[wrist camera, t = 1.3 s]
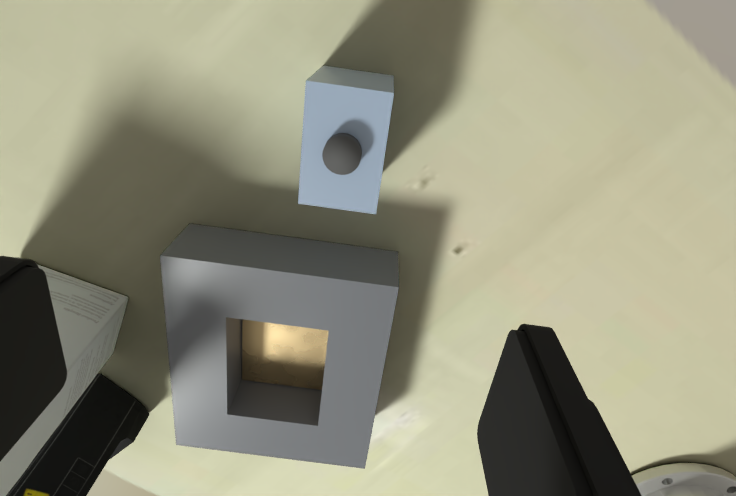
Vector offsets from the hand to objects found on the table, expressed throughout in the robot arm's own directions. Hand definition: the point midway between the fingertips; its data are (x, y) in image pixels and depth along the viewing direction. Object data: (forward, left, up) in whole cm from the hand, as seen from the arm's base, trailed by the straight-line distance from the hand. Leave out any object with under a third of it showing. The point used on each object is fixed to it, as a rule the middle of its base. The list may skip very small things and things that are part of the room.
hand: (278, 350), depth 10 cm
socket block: (+3, +16, -21) cm, 26 cm away
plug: (0, 0, -21) cm, 21 cm away
